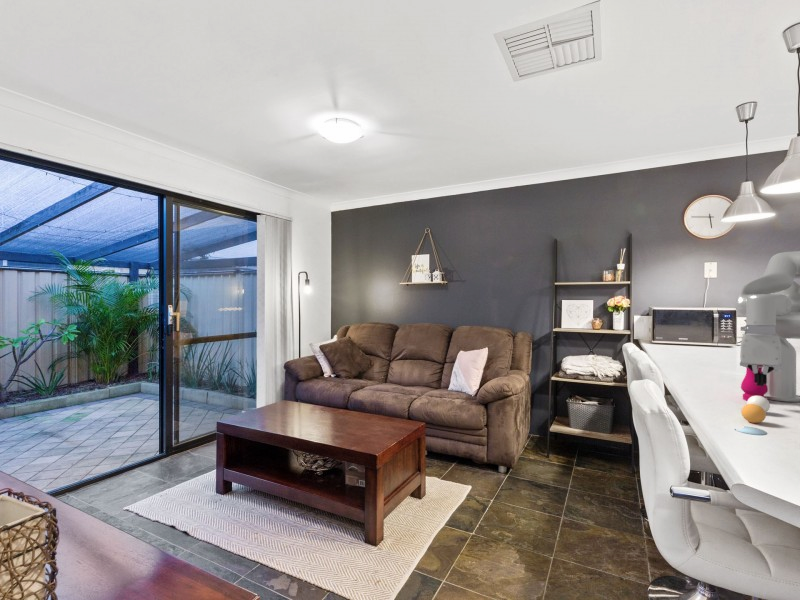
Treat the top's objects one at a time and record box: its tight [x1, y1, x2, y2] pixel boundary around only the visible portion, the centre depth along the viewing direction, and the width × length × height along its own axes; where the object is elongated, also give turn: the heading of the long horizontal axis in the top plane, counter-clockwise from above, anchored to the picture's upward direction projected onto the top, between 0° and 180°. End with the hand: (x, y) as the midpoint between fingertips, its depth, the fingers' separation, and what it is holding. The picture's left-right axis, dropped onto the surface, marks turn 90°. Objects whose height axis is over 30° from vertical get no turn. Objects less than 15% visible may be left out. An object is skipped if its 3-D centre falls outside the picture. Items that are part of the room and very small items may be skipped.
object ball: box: [740, 404, 767, 424], centre depth 119 cm, size 6×6×6 cm
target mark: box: [735, 425, 767, 436], centre depth 112 cm, size 7×7×1 cm
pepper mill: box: [740, 364, 768, 402], centre depth 144 cm, size 7×7×20 cm
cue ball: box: [746, 396, 771, 413], centre depth 129 cm, size 6×6×6 cm
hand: (760, 385), depth 135 cm, fingers closed
